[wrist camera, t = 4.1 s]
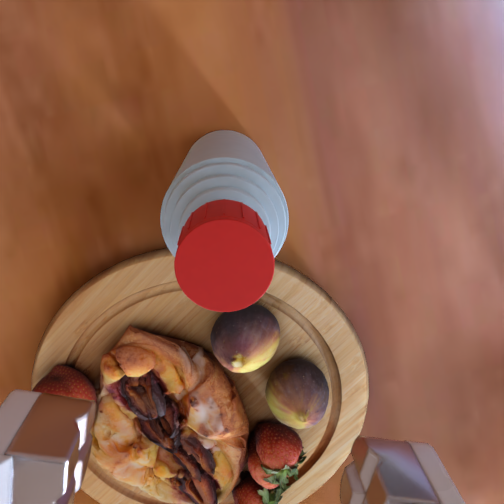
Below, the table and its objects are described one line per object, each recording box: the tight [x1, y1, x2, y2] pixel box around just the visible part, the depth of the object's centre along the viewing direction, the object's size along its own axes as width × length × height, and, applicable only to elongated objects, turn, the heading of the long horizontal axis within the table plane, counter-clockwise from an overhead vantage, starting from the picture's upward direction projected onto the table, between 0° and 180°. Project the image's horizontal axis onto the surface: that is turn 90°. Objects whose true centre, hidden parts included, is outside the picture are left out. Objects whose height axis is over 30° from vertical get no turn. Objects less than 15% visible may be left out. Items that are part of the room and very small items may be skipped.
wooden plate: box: [31, 248, 369, 504], centre depth 42 cm, size 32×32×8 cm
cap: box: [174, 199, 275, 312], centre depth 20 cm, size 4×4×3 cm
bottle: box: [160, 130, 289, 258], centre depth 29 cm, size 7×7×21 cm
